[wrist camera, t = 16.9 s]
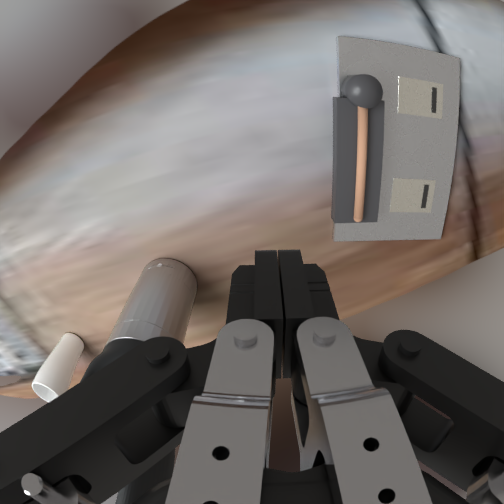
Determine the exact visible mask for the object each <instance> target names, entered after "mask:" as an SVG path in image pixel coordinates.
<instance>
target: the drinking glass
mask: <svg viewBox="0 0 504 504" xmlns="http://www.w3.org/2000/svg"><path fill="white" fill-rule="evenodd" d="M83 349H84V344H83V342H82V340H81V339H80V338H79V337H78V336H77V335H75V334H73V333H65V334H64V335H63V336H62V338H61V339H60V341H59V342H58V344H57V345H56V347H55V348H54V349H53V351H52V352H51V354H50V355H49V356H48V358H47V359H46V360H45V362H44V363H43V365H42V366H41V368H40V369H39V371H38V373H37V374H36V376H35V378H34V381H33V383H32V388H33V390H34V391H35V393H36V394H37V395H38V396H40V397H41V398H42V399H44V400H45V401H47V402H50V401H52V400H53V399H55V398H57V397H58V396H60V395H61V394H63V393H65V392H66V391H67V390H68V388H69V385H70V383H71V380H72V377H73V374H74V371H75V369H76V366H77V363H78V361H79V358H80V356H81V353H82V351H83Z"/></svg>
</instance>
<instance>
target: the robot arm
mask: <svg viewBox="0 0 504 504" xmlns="http://www.w3.org/2000/svg"><path fill="white" fill-rule="evenodd" d="M196 292H197V281H196V278H195V276H194V274H193V273H192V271H191V270H190V269H189V268H188V267H187V266H185V265H184V264H182V263H181V262H178V261H176V260H172V259H165V258H163V259H157V260H154V261H152V262H150V263H149V264H148V265H147V266H146V267H145V268H144V270H143V272H142V274H141V276H140V277H139V279H138V281H137V283H136V285H135V287H134V288H133V290H132V292H131V294H130V296H129V298H128V300H127V302H126V304H125V306H124V308H123V310H122V312H121V314H120V316H119V318H118V320H117V322H116V324H115V326H114V328H113V331H112V333H111V335H110V337H109V339H108V341H107V343H106V345H105V348H104V350H103V352H102V353H101V354H100V355H98V356H97V357H96V358H95V359H94V360H93V361H92V362H91V363H90V365H89V367H88V368H87V370H86V372H85V374H84V376H83V378H82V380H81V382H80V383H79V384H77V385H76V386H74V387H72V388H71V389H69V390H68V391H66V392H65V393H63V394H61V395H60V396H58V397H57V398H55V399H53V400H52V401H50V402H49V403H47V404H46V405H44V406H42V407H41V408H39V409H38V410H36V411H35V412H33V413H32V414H30V415H28V416H27V417H25V418H23V419H22V420H20V421H18V422H17V423H15V424H14V425H12V426H11V427H9V428H7V429H6V430H4V431H2V432H1V433H0V504H101V503H102V502H104V501H106V500H107V499H108V498H109V497H111V496H112V495H114V494H115V493H117V492H118V496H117V500H116V504H504V382H502V381H501V380H499V379H497V378H496V377H494V376H492V375H490V374H489V373H487V372H485V371H484V370H482V369H480V368H478V367H477V366H475V365H473V364H472V363H470V362H468V361H466V360H465V359H463V358H462V357H460V356H458V355H456V354H455V353H453V352H451V351H449V350H448V349H446V348H444V347H443V346H441V345H439V344H437V343H436V342H434V341H432V340H431V339H429V338H427V337H425V336H424V335H422V334H419V333H418V332H415V331H410V330H398V331H394V332H392V333H390V334H389V335H388V336H387V337H386V338H385V340H384V343H381V342H375V341H369V340H364V339H360V338H357V337H355V336H353V335H352V333H351V331H350V329H349V328H348V327H347V325H345V324H344V323H343V322H341V321H340V320H339V317H338V314H337V310H336V307H335V304H334V301H333V297H332V294H331V292H330V288H329V284H328V281H327V278H326V275H325V272H324V271H323V270H322V269H321V268H320V267H319V266H318V265H316V264H303V261H302V256H301V252H300V250H278V259H277V250H262V251H255V265H240V266H239V267H238V268H237V269H236V270H235V271H234V273H233V274H232V279H231V287H230V295H229V303H228V311H227V319H226V325H225V326H224V327H223V328H222V329H221V330H220V331H219V333H218V336H217V338H216V339H215V340H213V341H212V342H210V343H207V344H204V345H201V346H196V347H192V348H187V349H186V348H185V346H184V345H183V343H184V339H185V335H186V331H187V327H188V323H189V319H190V315H191V311H192V307H193V304H194V300H195V296H196ZM281 364H282V367H283V378H291V381H292V394H291V403H292V408H293V414H294V420H295V426H296V431H297V437H298V443H299V449H300V467H301V468H300V469H301V471H300V472H293V473H291V472H284V471H279V470H274V469H269V468H268V460H269V446H270V432H271V419H272V405H273V397H274V395H275V385H276V383H275V382H276V379H277V378H281ZM415 395H417V396H418V397H420V398H421V399H423V400H424V401H426V402H427V403H429V404H430V405H432V406H434V407H435V408H437V409H438V410H440V411H441V412H443V413H444V414H446V415H447V416H449V417H450V418H451V419H452V420H450V419H447V418H445V417H443V416H442V415H440V414H438V413H437V412H436V411H434V410H433V409H431V408H429V407H428V406H426V405H425V404H423V403H422V402H420V401H419V400H417V399H415V398H414V396H415ZM179 444H180V448H179V452H178V456H177V459H176V463H175V467H174V460H175V448H176V447H177V446H178V445H179ZM417 460H419V461H421V462H422V463H423V464H425V465H426V466H428V467H429V468H431V469H432V470H434V471H435V472H437V473H438V474H439V475H441V476H443V477H444V478H446V479H447V480H449V481H450V482H452V483H453V484H455V485H456V486H458V487H459V488H461V489H463V490H464V491H466V492H467V498H466V500H465V499H463V498H462V497H461V496H459V495H458V494H456V493H455V492H453V491H452V490H450V489H449V488H448V487H446V486H445V485H444V484H442V483H441V482H439V481H438V480H437V479H435V478H434V477H432V476H431V475H429V474H428V473H426V472H424V471H422V470H420V467H419V464H418V462H417ZM173 469H174V471H173ZM172 474H173V475H172Z"/></svg>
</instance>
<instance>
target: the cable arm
mask: <svg viewBox="0 0 504 504" xmlns="http://www.w3.org/2000/svg"><path fill="white" fill-rule="evenodd" d="M341 94H342V97H333V182H332V210H331V218H332V220H333V222H334V223H368V222H377V220H378V211H379V201H380V190H381V178H382V163H383V144H384V110H385V101H384V100H382V97H383V89H382V86H381V84H380V82H379V81H378V80H377V79H376V78H375V77H373V76H371V75H368V74H359V75H350V76H348V77H346V78H345V79H344V80H343V82H342V84H341Z"/></svg>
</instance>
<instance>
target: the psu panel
mask: <svg viewBox="0 0 504 504" xmlns="http://www.w3.org/2000/svg"><path fill="white" fill-rule="evenodd" d="M336 44H337V78H338V97H342V94H341V84H342V82H343V80H344V79H345V78H346V77H348V76H350V75H359V74H368V75H371V76H373V77H375V78H376V79H377V80H378V81H379V82H380V84H381V86H382V89H383V97H382V100H384V101H385V110H384V144H383V163H382V178H381V190H380V201H379V211H378V220H377V222H368V223H334V222H333V236H332V239H333V241H373V240H418V239H441V235H442V230H443V226H444V221H445V216H446V211H447V205H448V200H449V194H450V188H451V182H452V175H453V168H454V160H455V151H456V142H457V130H458V117H459V95H460V58H457V57H453V56H449V55H446V54H442V53H438V52H434V51H429V50H425V49H420V48H416V47H411V46H406V45H400V44H395V43H389V42H382V41H376V40H368V39H360V38H351V37H341V36H338V37H336Z"/></svg>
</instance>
